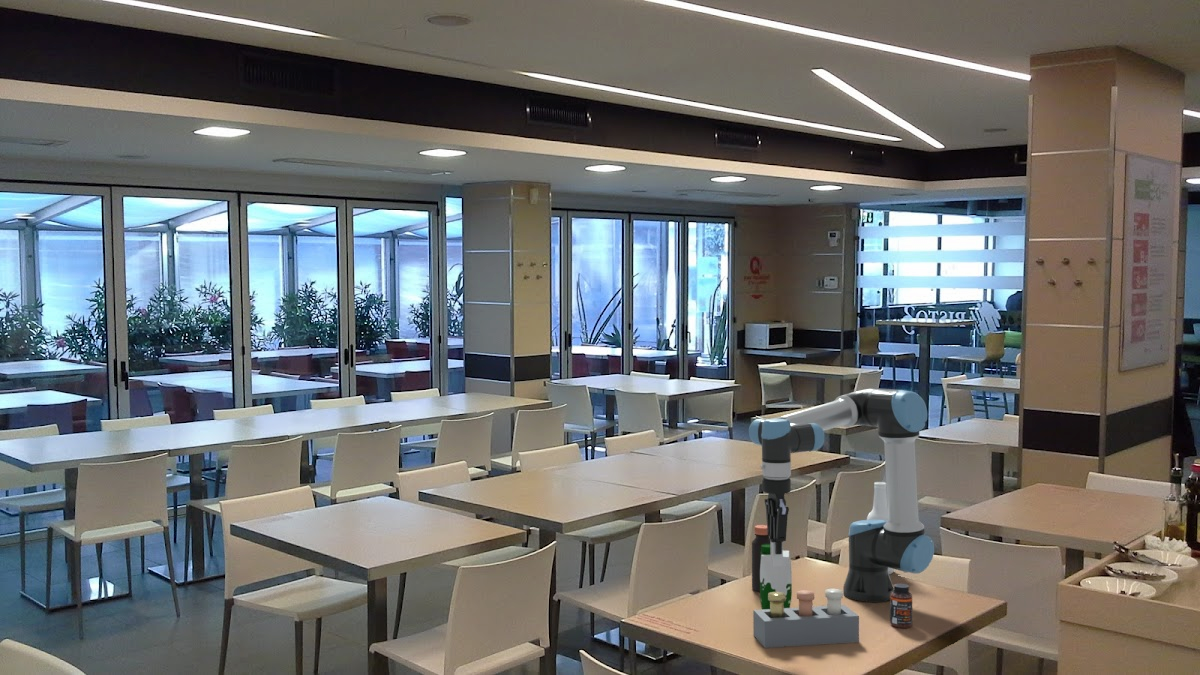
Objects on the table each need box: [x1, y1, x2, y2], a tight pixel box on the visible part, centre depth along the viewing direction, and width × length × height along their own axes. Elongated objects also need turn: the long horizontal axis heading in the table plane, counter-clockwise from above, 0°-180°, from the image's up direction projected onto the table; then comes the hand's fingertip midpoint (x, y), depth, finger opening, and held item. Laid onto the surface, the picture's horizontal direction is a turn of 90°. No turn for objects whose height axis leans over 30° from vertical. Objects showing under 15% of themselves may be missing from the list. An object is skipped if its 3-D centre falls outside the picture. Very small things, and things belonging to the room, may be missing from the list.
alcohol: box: [866, 481, 895, 575], centre depth 336 cm, size 9×9×30 cm
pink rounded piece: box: [796, 589, 815, 617], centre depth 270 cm, size 5×5×7 cm
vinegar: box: [751, 524, 771, 593], centre depth 317 cm, size 7×7×20 cm
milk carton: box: [759, 544, 793, 610], centre depth 291 cm, size 9×9×20 cm
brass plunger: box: [768, 592, 786, 618], centre depth 269 cm, size 5×5×7 cm
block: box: [752, 604, 860, 649], centre depth 270 cm, size 26×10×7 cm, turn 98°
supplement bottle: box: [889, 583, 913, 629], centre depth 280 cm, size 6×6×11 cm
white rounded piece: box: [824, 588, 844, 615], centre depth 271 cm, size 5×5×7 cm
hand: (776, 564), depth 268 cm, fingers closed
